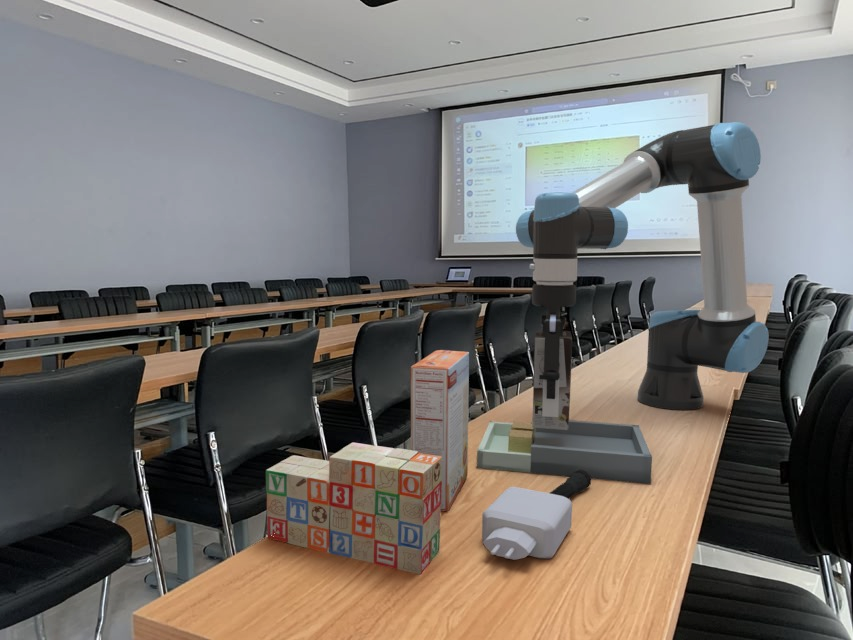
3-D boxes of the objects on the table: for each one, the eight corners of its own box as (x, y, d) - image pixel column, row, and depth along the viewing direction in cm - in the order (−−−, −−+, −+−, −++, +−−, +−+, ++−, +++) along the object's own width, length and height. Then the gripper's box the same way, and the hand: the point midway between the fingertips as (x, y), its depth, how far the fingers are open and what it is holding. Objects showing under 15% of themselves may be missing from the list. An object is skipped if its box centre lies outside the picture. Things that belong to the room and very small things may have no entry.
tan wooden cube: (534, 443, 115) (534, 423, 115) (532, 450, 111) (533, 429, 111) (512, 441, 116) (513, 421, 116) (510, 448, 112) (511, 427, 112)
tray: (535, 439, 120) (536, 425, 119) (530, 472, 102) (530, 455, 101) (489, 436, 121) (490, 421, 121) (476, 467, 104) (477, 450, 103)
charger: (461, 565, 72) (505, 517, 85) (537, 586, 68) (571, 532, 81) (462, 527, 71) (506, 484, 85) (539, 545, 67) (572, 497, 80)
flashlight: (591, 490, 96) (592, 471, 95) (545, 527, 82) (546, 506, 82) (572, 485, 97) (573, 467, 97) (525, 521, 84) (525, 500, 84)
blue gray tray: (637, 448, 115) (638, 425, 115) (650, 484, 98) (652, 457, 97) (535, 439, 120) (536, 417, 119) (530, 472, 102) (531, 446, 101)
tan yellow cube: (531, 452, 110) (532, 431, 110) (531, 460, 106) (531, 437, 106) (509, 450, 111) (510, 429, 110) (507, 458, 107) (508, 435, 107)
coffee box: (569, 431, 105) (572, 338, 102) (531, 428, 106) (533, 336, 104) (568, 415, 113) (571, 330, 111) (533, 413, 115) (536, 328, 113)
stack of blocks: (265, 540, 77) (264, 445, 76) (293, 520, 83) (293, 432, 82) (422, 576, 69) (423, 471, 68) (441, 551, 75) (443, 454, 74)
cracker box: (432, 473, 101) (435, 348, 98) (468, 478, 99) (471, 350, 97) (407, 507, 87) (409, 363, 85) (448, 513, 86) (451, 366, 83)
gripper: (535, 279, 118) (532, 393, 121) (528, 287, 97) (525, 424, 100) (575, 279, 116) (571, 395, 119) (577, 287, 95) (573, 427, 98)
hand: (550, 408), depth 109 cm, fingers closed on coffee box, 9 cm apart
